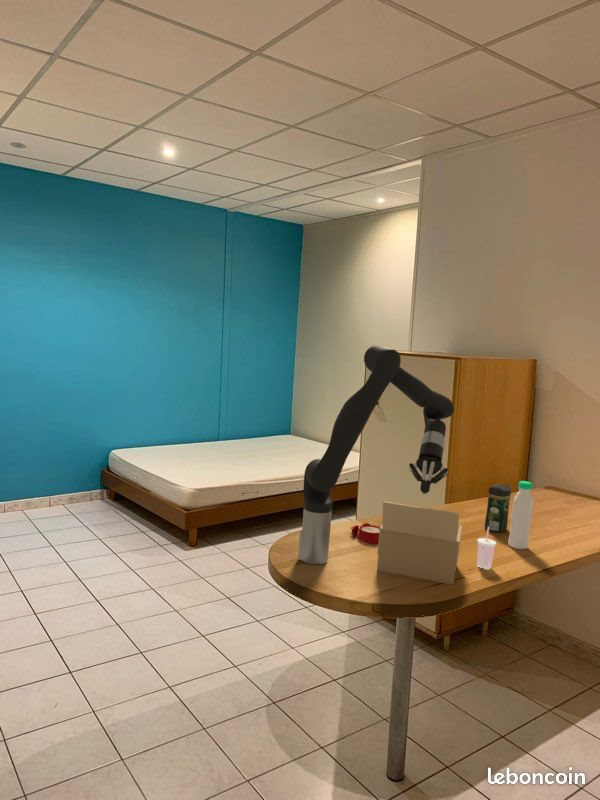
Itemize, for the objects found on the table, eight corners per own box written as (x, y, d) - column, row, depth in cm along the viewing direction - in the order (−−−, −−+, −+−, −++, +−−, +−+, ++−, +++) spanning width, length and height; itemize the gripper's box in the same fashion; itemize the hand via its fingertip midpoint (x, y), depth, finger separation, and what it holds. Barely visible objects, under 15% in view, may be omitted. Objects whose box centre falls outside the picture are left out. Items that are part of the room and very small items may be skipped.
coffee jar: (490, 524, 256) (495, 481, 254) (509, 529, 251) (514, 485, 249) (481, 528, 249) (486, 484, 247) (500, 534, 244) (505, 489, 242)
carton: (375, 570, 197) (379, 528, 195) (385, 551, 214) (388, 512, 213) (454, 585, 190) (459, 541, 188) (457, 564, 207) (462, 524, 206)
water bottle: (531, 550, 228) (539, 484, 225) (513, 549, 227) (521, 484, 224) (521, 543, 235) (529, 479, 232) (504, 543, 233) (512, 479, 230)
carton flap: (382, 528, 195) (382, 529, 195) (383, 501, 190) (382, 502, 189) (456, 541, 188) (456, 542, 188) (459, 513, 183) (459, 514, 183)
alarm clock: (374, 537, 218) (346, 517, 228) (370, 552, 220) (342, 531, 230) (394, 532, 225) (365, 513, 235) (389, 547, 226) (361, 527, 237)
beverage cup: (470, 564, 208) (475, 525, 206) (482, 562, 212) (486, 523, 210) (485, 571, 203) (490, 530, 202) (497, 568, 207) (501, 528, 205)
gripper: (411, 438, 203) (403, 483, 193) (452, 443, 199) (445, 489, 189) (412, 451, 209) (403, 495, 199) (452, 456, 205) (445, 501, 195)
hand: (424, 492), depth 194 cm, fingers closed
